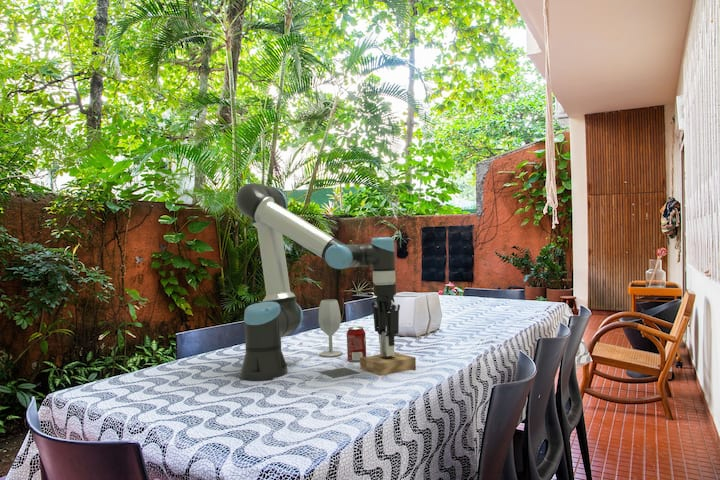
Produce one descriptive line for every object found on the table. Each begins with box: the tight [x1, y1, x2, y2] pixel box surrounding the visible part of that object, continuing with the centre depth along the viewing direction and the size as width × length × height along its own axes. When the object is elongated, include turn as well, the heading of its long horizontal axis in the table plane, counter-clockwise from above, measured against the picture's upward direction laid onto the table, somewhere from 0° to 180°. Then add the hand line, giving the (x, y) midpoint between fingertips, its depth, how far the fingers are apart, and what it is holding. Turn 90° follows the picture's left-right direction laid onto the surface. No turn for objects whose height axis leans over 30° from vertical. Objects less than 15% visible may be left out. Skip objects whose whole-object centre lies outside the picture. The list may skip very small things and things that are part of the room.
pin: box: [382, 330, 392, 360], centre depth 167 cm, size 3×3×12 cm
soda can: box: [346, 326, 367, 363], centre depth 181 cm, size 7×7×12 cm
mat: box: [318, 367, 361, 379], centre depth 164 cm, size 10×10×1 cm
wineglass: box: [318, 299, 343, 358], centre depth 194 cm, size 9×9×21 cm
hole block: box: [359, 351, 417, 376], centre depth 167 cm, size 14×12×4 cm
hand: (387, 354), depth 167 cm, fingers closed on pin, 3 cm apart
